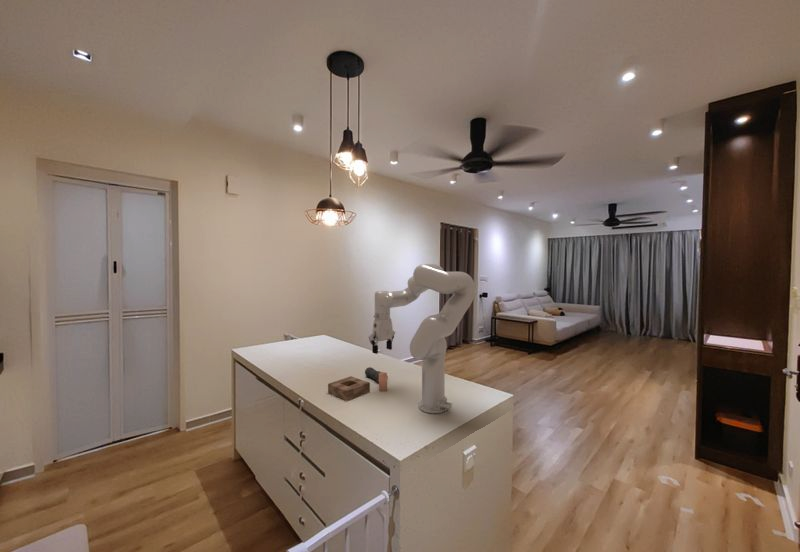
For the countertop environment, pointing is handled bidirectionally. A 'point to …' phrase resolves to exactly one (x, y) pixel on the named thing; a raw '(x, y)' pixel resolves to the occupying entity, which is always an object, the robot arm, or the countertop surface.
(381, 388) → the pin
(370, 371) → the flashlight
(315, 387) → the countertop surface
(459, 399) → the countertop surface
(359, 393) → the walnut block
